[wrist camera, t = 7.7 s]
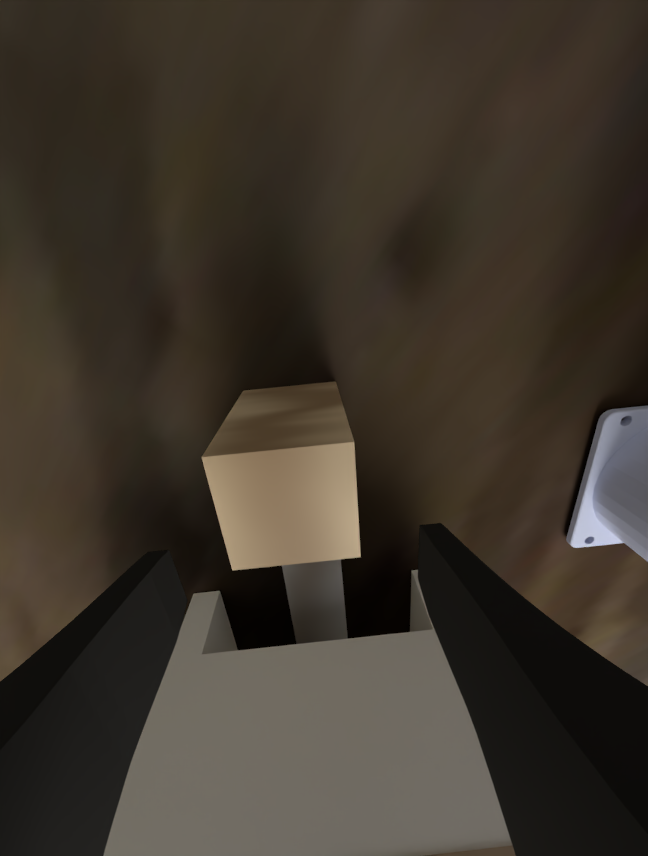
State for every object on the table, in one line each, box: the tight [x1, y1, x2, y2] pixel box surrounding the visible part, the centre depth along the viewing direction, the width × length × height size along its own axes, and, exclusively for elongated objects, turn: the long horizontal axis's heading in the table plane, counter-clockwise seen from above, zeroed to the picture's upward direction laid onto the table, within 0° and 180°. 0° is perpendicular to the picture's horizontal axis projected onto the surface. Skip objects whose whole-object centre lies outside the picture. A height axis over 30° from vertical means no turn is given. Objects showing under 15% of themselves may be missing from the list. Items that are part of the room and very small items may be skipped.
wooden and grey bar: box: [202, 381, 361, 644], centre depth 15 cm, size 4×20×6 cm, turn 5°
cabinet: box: [103, 570, 516, 856], centre depth 16 cm, size 14×10×10 cm
